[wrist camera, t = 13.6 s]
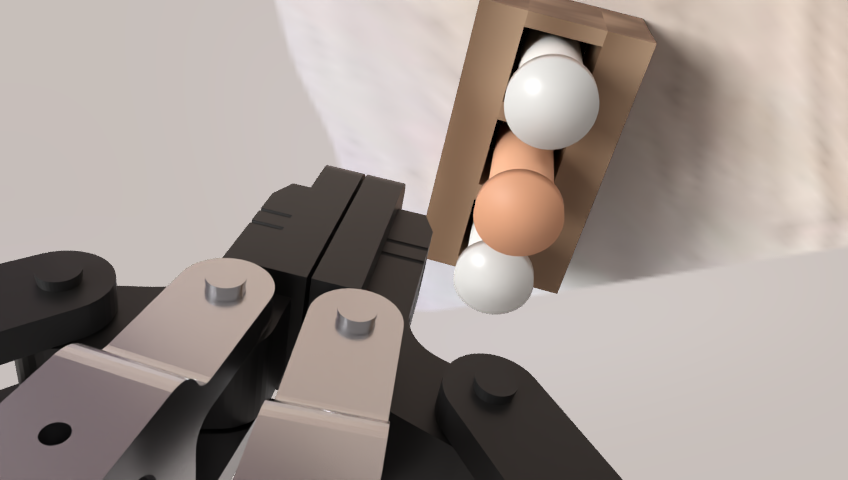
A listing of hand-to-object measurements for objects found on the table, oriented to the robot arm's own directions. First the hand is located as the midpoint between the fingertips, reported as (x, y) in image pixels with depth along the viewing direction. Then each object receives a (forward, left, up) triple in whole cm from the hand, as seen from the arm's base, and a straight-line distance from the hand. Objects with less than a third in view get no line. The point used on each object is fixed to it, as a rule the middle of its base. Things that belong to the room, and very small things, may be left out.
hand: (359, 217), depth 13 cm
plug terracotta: (-4, +7, -23) cm, 24 cm away
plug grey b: (-4, +2, -25) cm, 25 cm away
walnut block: (-4, +7, -25) cm, 26 cm away
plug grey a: (-4, +11, -25) cm, 27 cm away
